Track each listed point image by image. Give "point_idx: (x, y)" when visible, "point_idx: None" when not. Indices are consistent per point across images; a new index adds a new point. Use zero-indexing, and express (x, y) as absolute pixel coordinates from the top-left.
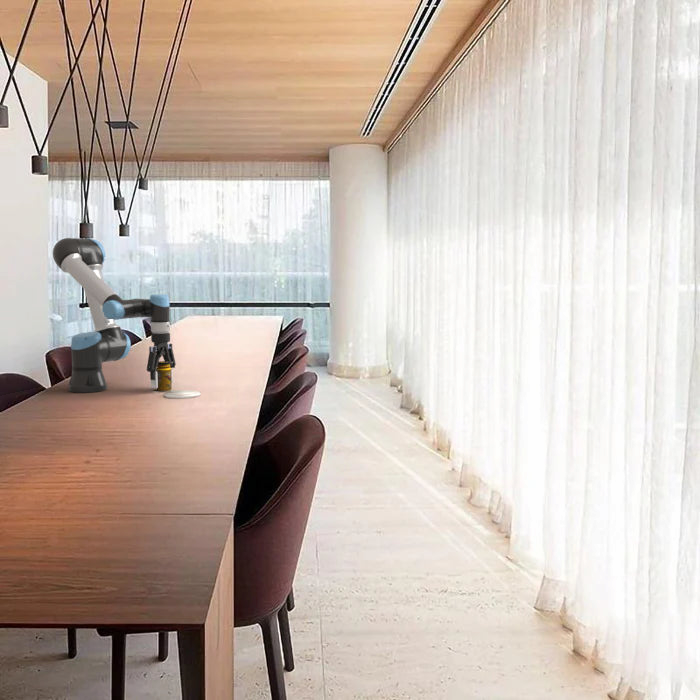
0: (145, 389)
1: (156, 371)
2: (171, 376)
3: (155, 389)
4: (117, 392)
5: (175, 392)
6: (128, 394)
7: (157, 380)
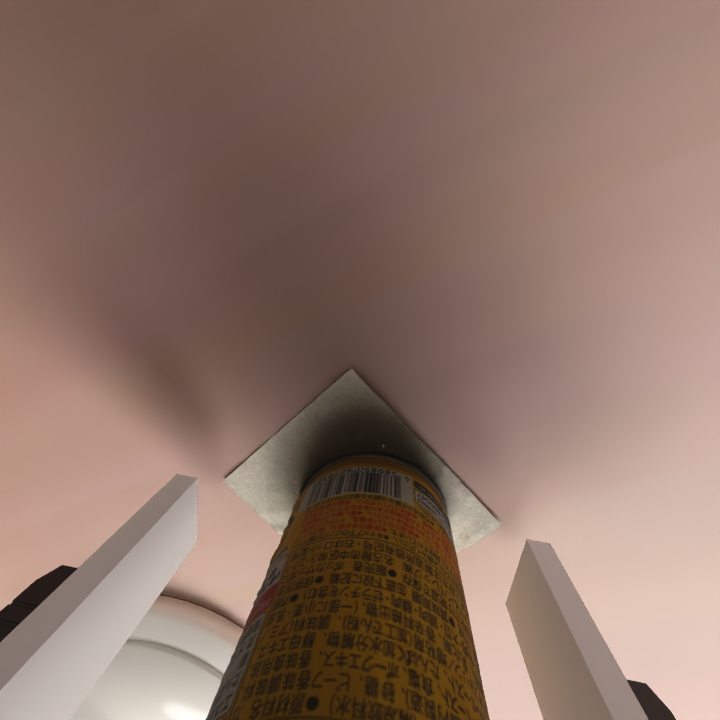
0: (408, 297)
1: (233, 718)
2: (542, 708)
3: (394, 424)
4: (117, 25)
5: (129, 692)
6: (54, 251)
7: (275, 566)
